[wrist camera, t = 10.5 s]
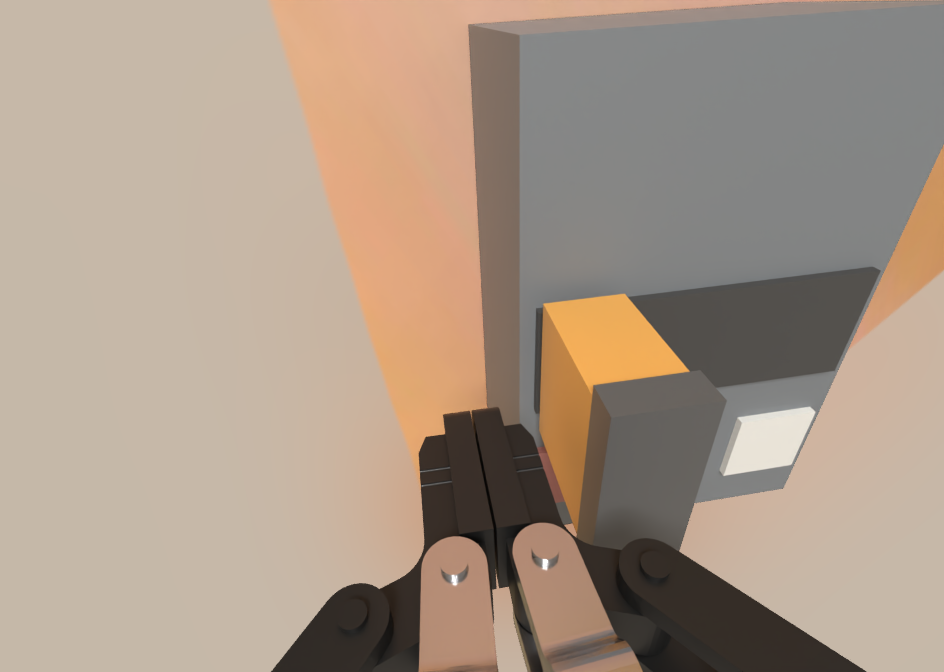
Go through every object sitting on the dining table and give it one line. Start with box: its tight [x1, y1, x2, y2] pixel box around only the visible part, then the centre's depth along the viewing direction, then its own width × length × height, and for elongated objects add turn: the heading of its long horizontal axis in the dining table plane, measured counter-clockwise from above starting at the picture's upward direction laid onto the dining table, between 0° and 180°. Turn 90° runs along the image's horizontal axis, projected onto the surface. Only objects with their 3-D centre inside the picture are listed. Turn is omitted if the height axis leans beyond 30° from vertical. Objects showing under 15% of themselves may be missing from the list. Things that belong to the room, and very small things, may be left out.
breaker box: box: [469, 0, 944, 525], centre depth 19 cm, size 12×18×8 cm, turn 3°
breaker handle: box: [539, 294, 727, 551], centre depth 13 cm, size 2×6×5 cm, turn 3°
